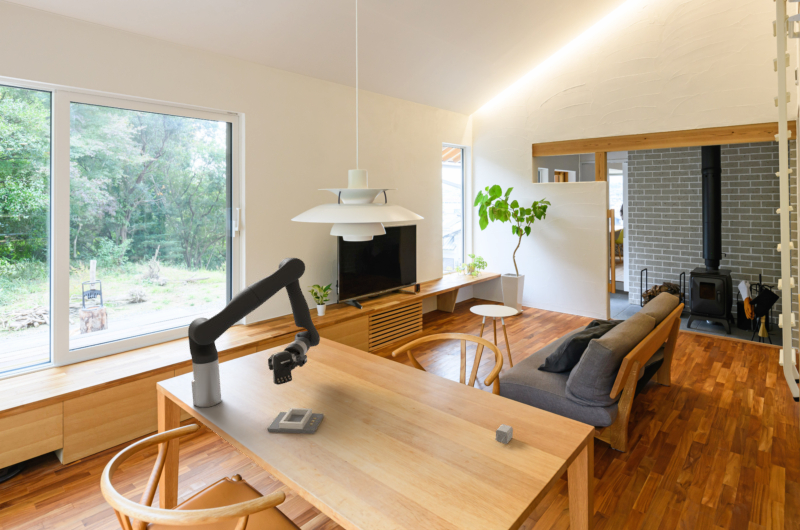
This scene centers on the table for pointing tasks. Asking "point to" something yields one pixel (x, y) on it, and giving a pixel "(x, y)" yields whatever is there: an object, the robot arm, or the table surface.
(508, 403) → the table surface
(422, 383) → the table surface
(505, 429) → the usb wall charger
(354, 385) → the table surface
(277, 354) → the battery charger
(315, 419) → the charging dock
